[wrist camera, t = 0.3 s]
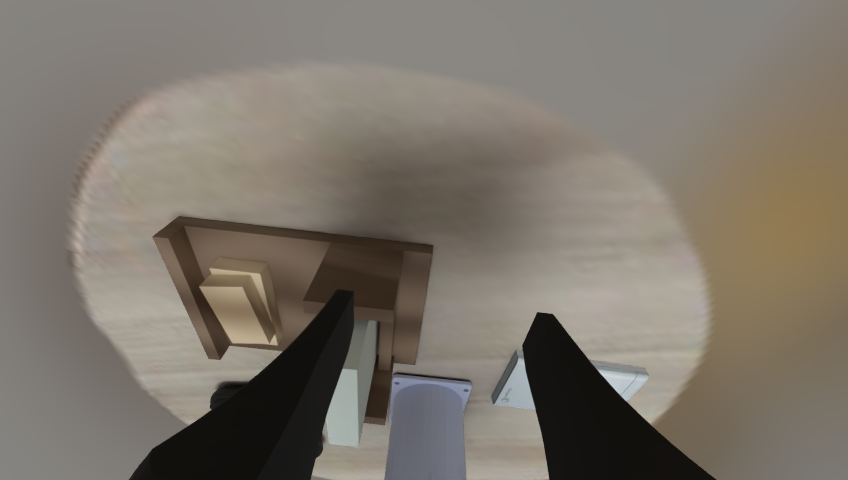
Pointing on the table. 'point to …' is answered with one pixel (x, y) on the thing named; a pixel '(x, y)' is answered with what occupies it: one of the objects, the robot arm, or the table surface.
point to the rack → (307, 285)
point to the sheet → (353, 386)
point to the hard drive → (518, 392)
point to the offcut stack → (244, 301)
